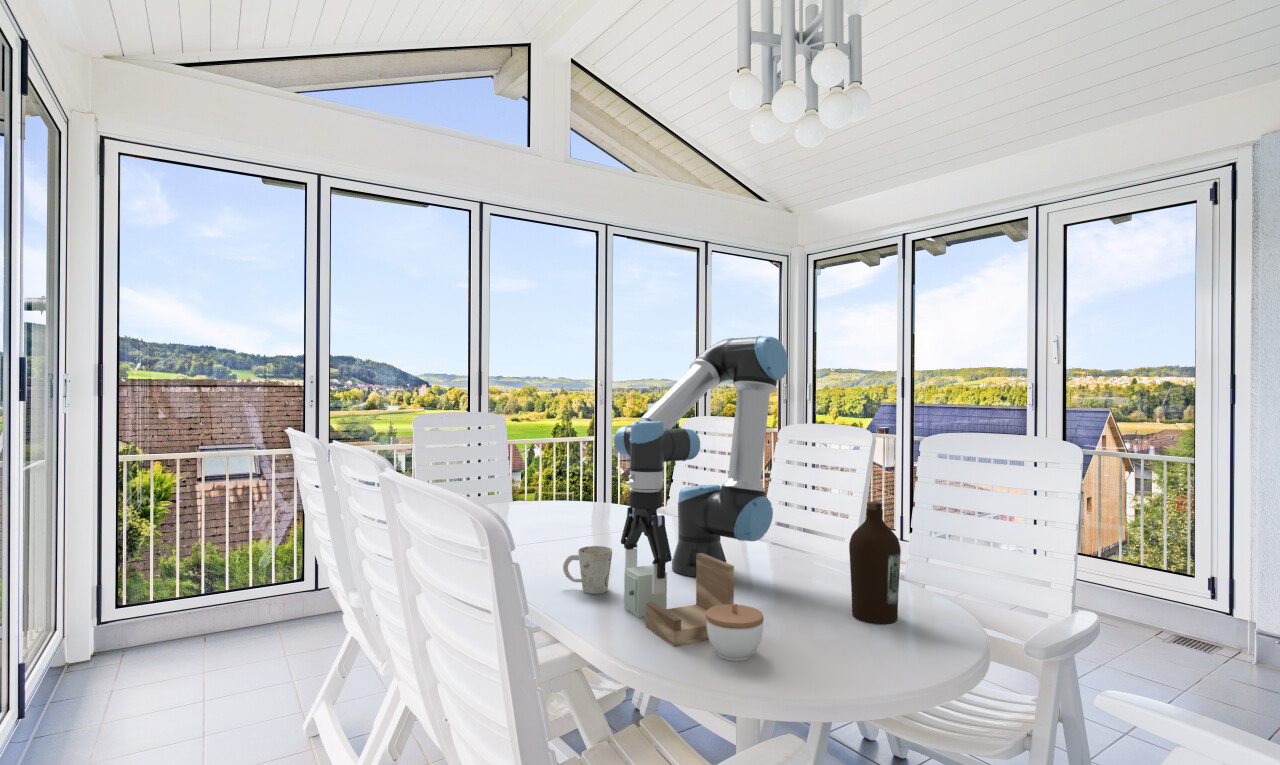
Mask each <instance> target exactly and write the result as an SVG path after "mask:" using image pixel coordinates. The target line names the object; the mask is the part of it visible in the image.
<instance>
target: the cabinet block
mask: <svg viewBox="0 0 1280 765" xmlns="http://www.w3.org/2000/svg"><path fill="white" fill-rule="evenodd" d="M652 574H653V564H651V565H650V564H649V565H641V566H637V567H633V568H625V567H624V579H623V580H624V586H623V587H624V593H623V594H624V595H623V598H624V599H623V600H624V602H623V605H624V609H625V610H626V609H627V610H626V611H628V612H629V611H630V612H629V613H630V614H632V613H633V615H634V616H635V615H636V616H635V617H636V618H638V617H639V618H643V617H642V616H645V617H646V603H649V602H653V603H655V604H656V605H658V606H660V607H661V608H663V609H668V608H667V606H668V604H667V602H668V600H667V595H668V594H667V593H668V592H667V591H668V589H667V587H668V586H667V585H668V582H667V581H668V578H667V577H668V575H667V574H668V572H666V571H665V593H658V594H653V593H652Z"/></svg>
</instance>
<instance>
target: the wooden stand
mask: <svg viewBox="0 0 1280 765" xmlns="http://www.w3.org/2000/svg"><path fill="white" fill-rule="evenodd" d="M695 578H696V579H695V581H696V583H695V586H696V587H695V588H696V589H695V590H696V591H695V592H696V593H695V594H696V595H695V597H696V598H695V599H696V600H695V601H696V602H695V604H692V605H684V606H678V607H673V608H672V607H671V608H667V609H663V608H661V607H660V606H658V605H656V604H655V603H653V602H649V603H646V616H645V628H647V629H648V630H649V631H651V632H653V633H654V634H655V635H656V636H657V637H660V638H661V639H662V640H664V641H665V642H667V643H668V644H669V645H671V646H672V647H674V648H675V647H681V646H686V645H691V644H695V643H696V644H697V643H702V642H706V641H708V642H709V639H708V635H707V628H706V611H707V610H708V609H709V608H711V607H713V606H717V605H724V604H735V596H734V595H735V591H734V590H735V566H734V564H731V563H729V562H727V563H726V562H723V561H721V560H719V559H716V558H714V557H711V556H709V555H706V554H704V553H697V554H696V576H695Z"/></svg>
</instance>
